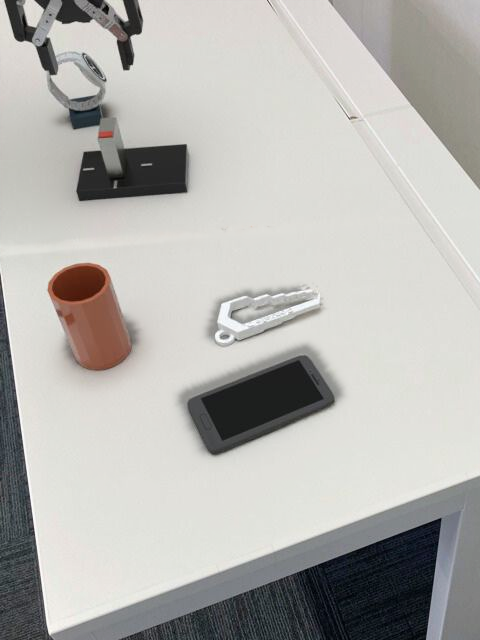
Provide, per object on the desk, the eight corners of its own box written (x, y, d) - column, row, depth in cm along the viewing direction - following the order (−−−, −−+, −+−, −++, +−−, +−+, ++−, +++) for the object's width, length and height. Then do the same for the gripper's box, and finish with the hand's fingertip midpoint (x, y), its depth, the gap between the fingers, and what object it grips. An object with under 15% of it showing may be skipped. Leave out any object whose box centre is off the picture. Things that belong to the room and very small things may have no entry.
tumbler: (71, 372, 83) (43, 307, 75) (78, 331, 87) (51, 265, 79) (129, 367, 83) (107, 301, 76) (133, 326, 87) (112, 260, 80)
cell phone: (185, 404, 80) (184, 399, 79) (307, 356, 84) (306, 352, 83) (211, 456, 75) (210, 452, 75) (337, 403, 80) (337, 399, 79)
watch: (119, 130, 114) (101, 60, 106) (63, 140, 112) (40, 69, 104) (115, 111, 118) (97, 41, 109) (61, 120, 116) (38, 50, 108)
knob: (111, 157, 104) (100, 116, 99) (126, 156, 104) (115, 115, 100) (108, 178, 101) (96, 137, 96) (124, 177, 101) (113, 135, 96)
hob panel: (82, 209, 101) (75, 190, 99) (89, 169, 107) (83, 150, 105) (189, 201, 103) (185, 181, 100) (190, 162, 109) (186, 142, 106)
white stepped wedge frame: (307, 283, 92) (307, 273, 90) (325, 310, 89) (325, 299, 87) (204, 319, 88) (202, 308, 87) (219, 348, 85) (217, 338, 84)
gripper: (123, -93, 83) (152, 51, 95) (-13, -87, 82) (34, 58, 94) (117, -67, 78) (149, 82, 90) (-27, -60, 77) (24, 90, 89)
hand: (90, 69), depth 92 cm, fingers open, 8 cm apart
